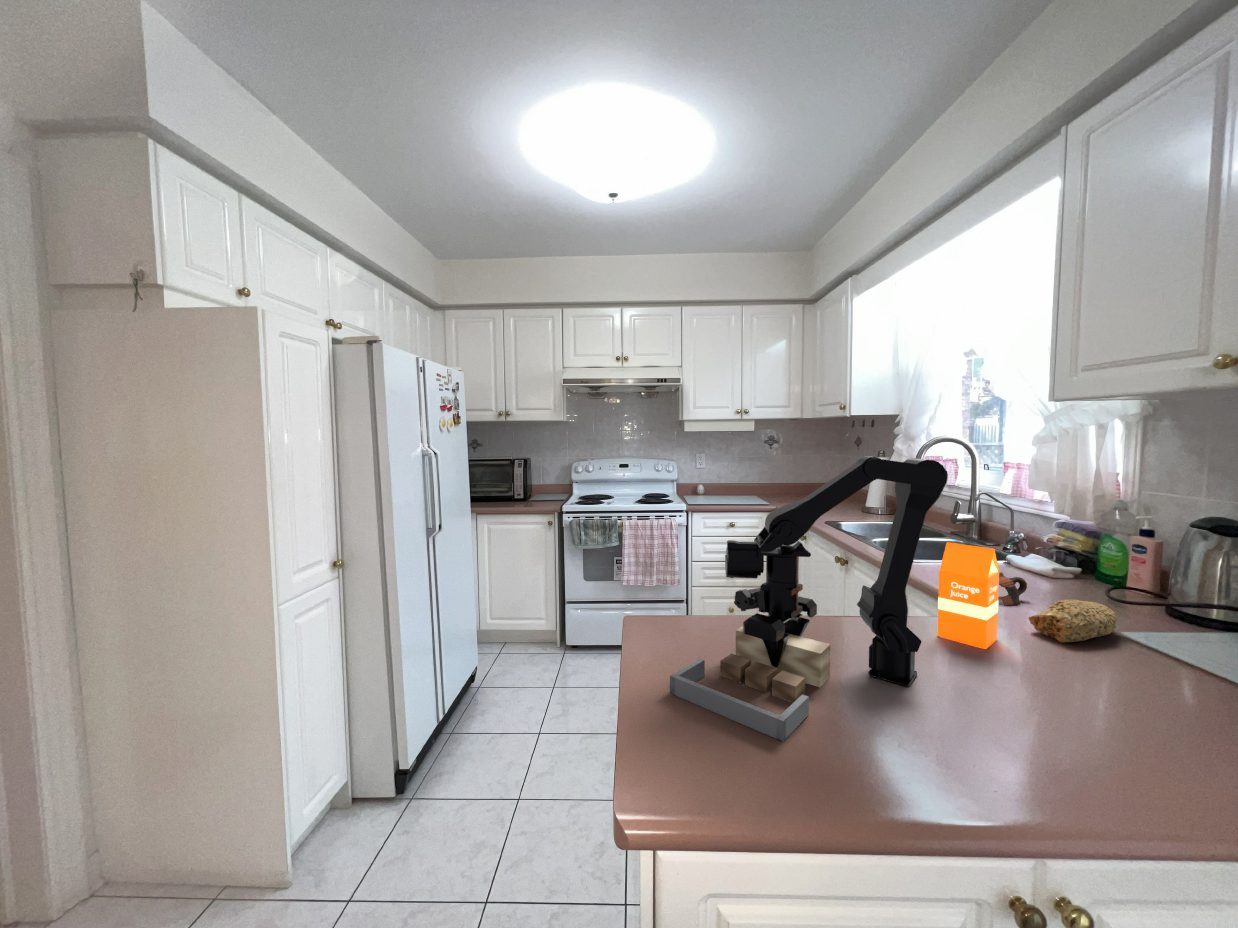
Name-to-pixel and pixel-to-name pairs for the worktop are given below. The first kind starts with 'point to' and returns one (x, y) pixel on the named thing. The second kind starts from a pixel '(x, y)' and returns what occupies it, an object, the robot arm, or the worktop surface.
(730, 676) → the walnut chip
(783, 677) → the walnut chip
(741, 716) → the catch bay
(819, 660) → the block
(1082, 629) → the tan porous lump
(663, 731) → the worktop surface
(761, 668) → the block
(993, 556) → the orange juice
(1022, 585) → the pottery mug
